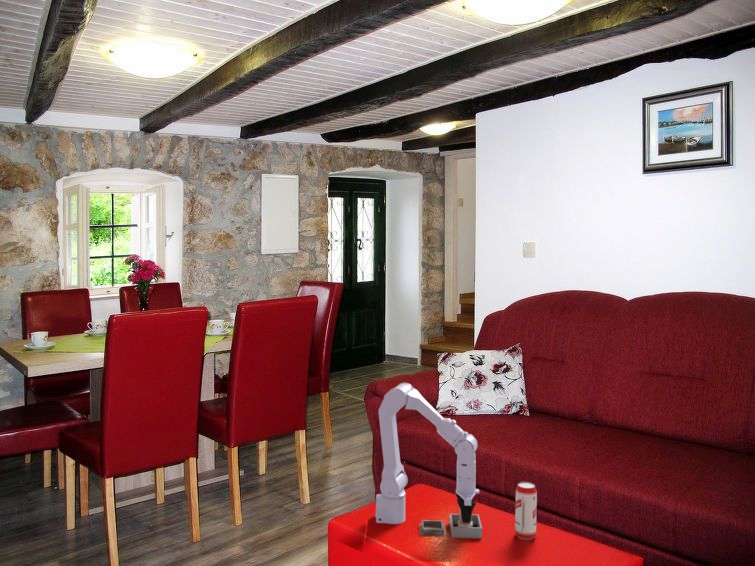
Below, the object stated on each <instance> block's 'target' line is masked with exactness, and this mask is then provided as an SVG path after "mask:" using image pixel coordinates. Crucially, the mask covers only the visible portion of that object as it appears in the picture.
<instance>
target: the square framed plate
mask: <svg viewBox="0 0 755 566" xmlns="http://www.w3.org/2000/svg"><path fill="white" fill-rule="evenodd" d="M418 525H419V528H418V529H419V531H418V532H419V536H429V537H430V536H433V537H434V536H437V537H446V536H447V530H446V524H444V520H439V519H435V520H432V519H431V520H428V519H421V523H419V524H418Z"/></svg>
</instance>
